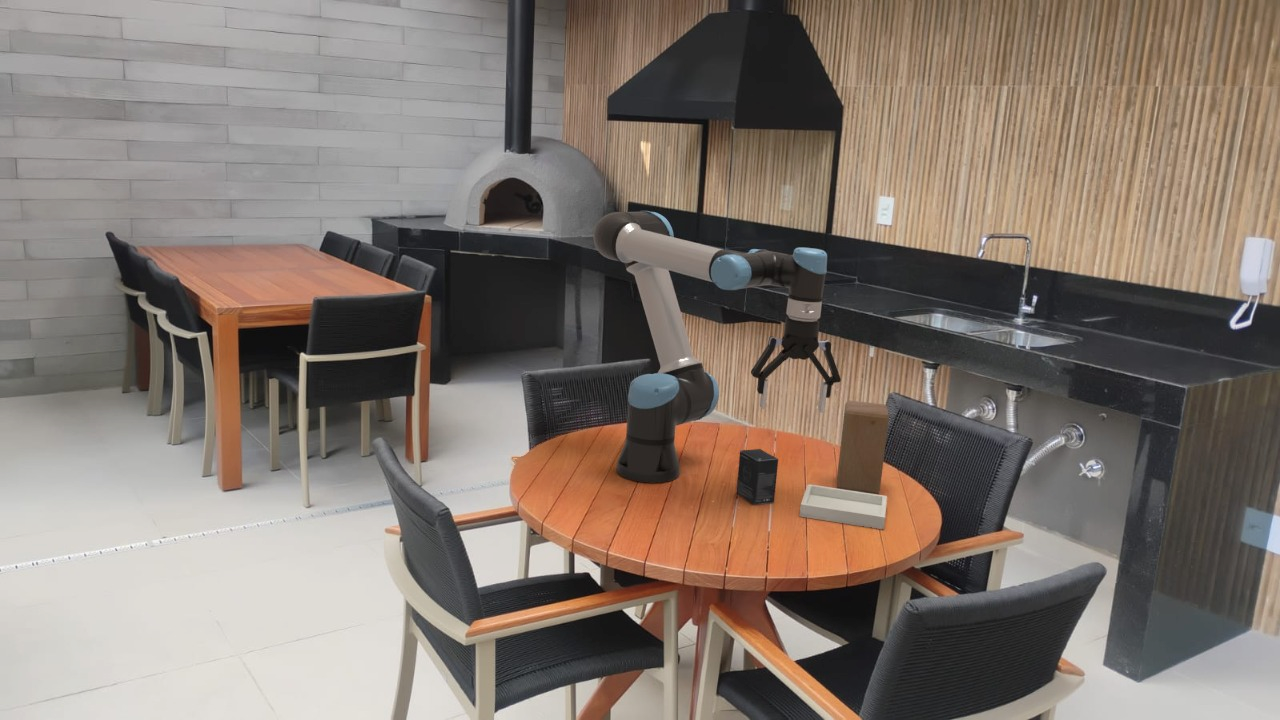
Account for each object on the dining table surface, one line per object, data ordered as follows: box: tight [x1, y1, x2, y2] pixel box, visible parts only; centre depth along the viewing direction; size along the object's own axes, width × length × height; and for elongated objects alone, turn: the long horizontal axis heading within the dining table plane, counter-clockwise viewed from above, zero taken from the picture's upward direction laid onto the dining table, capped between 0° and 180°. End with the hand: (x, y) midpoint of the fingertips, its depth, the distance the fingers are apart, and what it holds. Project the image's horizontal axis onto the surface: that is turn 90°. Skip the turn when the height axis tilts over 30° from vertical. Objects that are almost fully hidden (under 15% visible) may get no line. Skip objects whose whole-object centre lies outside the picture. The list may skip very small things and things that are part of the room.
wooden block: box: [836, 400, 890, 495], centre depth 235 cm, size 10×10×20 cm
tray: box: [799, 483, 888, 531], centre depth 220 cm, size 18×14×3 cm
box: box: [736, 448, 779, 506], centre depth 224 cm, size 8×6×11 cm
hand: (791, 409), depth 225 cm, fingers open, 13 cm apart
